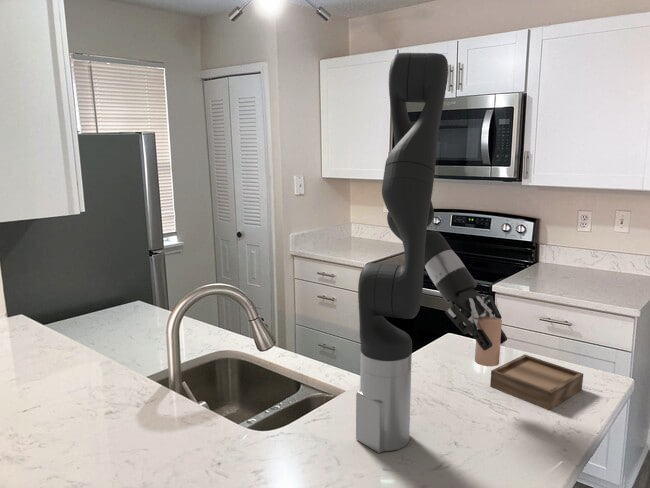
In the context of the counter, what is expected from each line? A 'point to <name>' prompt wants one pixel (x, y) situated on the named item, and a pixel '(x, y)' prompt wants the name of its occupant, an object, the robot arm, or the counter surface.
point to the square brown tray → (537, 381)
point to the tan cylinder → (494, 334)
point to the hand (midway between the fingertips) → (496, 344)
